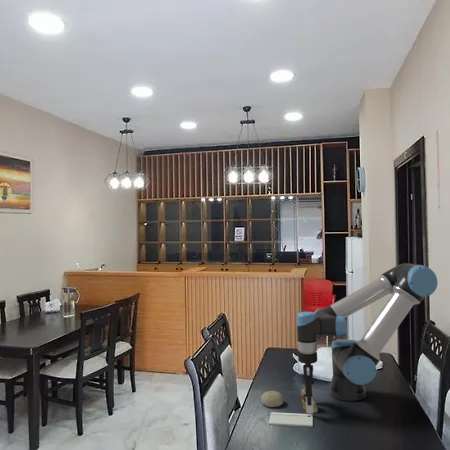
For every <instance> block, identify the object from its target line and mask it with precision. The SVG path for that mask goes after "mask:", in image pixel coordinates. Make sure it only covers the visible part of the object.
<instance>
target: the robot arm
mask: <svg viewBox="0 0 450 450" xmlns="http://www.w3.org/2000/svg"><path fill="white" fill-rule="evenodd" d="M438 282H439V281H438V278H437V275H436V272H434V271H433V269H432V268H430V267H428V266H425V265H423V264H415V263H409V262H404V263H401V264H399V265H396V266H394V267H391V268H390V269H388V270H386V271H385V272H383V273H382V274H380V275H379V278H377V279H375V280H373V281H372V282H370V283H368V284H367V285H365V286H363V287H361V288H359V289H358V290H356V291H354V292H352V293H350V294H348V295H347V296H345V297H343V298H341V299H340V300H337V301H336V302H334V303H331V304H330V305H329V306H326V307H325V308H317V309H316V310H315V311H314V312H312V311H300V312H299V313H297V315H296V334H297V336H296V337H297V342H296V343H295V346H297V350H298V352H297V360H298V362H299V363H301V364H303V365H302V370H303V371H302V372H303V378H304V379H305V383H304V385H305V387H304V389H306V394H305V395H304V397H306V410H305V414H314V413H313V399H314V395H313V394H314V393H313V384H315V383H314V382H315V381H314V380H313V378H314V374H313V373H314V364H315V363H317V362H318V340H317V337H335V336H336V337H340V336H345V335H346V334H347V332H348V322H347V319H346V318H348V317H349V316H352V315H353V314H355V313H357V312H358V311H360V310H363V309H364V308H366V307H368V306H369V305H371V304H373V303H375V302H376V301H379V300H380V299H382V298H384V297H386V296H388V295H391V296H390V297H389V298H388V300H387V301H386V302H385V304H384V306H383V307H382V309H380V311H379V313H378V314H377V316H376V317H375V318H374V320H373V321H372V323H371V324H370V326H369V327H368V328H367V330H366V331H365V332H364V334H363V335H362V337H361V339H360V340H354V339H335V340H333V341H332V342H331V359H332V362H331V363H332V364H331V365H332V377H331V381H330V385H329V389H328V390H329V395H330V396H331V397H333V398H334V399H337V400H342V401H347V402H348V401H349V402H353V401H354V402H355V401H360V400H363V399H365V398H366V396H367V393H366V392H367V389H366V386H365V385H367V384H370V383H372V381H373V380H375V379H374V378H376V375H377V367H376V366H378V364H379V362H380V361H381V357H380V353H381V352H382V351H383V349H384V348H385V347H386V345H387V344H388V342H389V341H390V339H391V337H392V336H393V335H394V333H396V330H397V329H398V328H399V326H400V325H401V323H402V322H403V321H404V319H405V318H406V316H407V315H408V314H409V312H410V310H411V309H412V308H413V306H415V305H420V304H421V302H422V301H423V300H424V298H425V297H429V296H431V295H432V294H434V293H435V292H436V290H437V288H438ZM310 393H311V394H310Z"/></svg>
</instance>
